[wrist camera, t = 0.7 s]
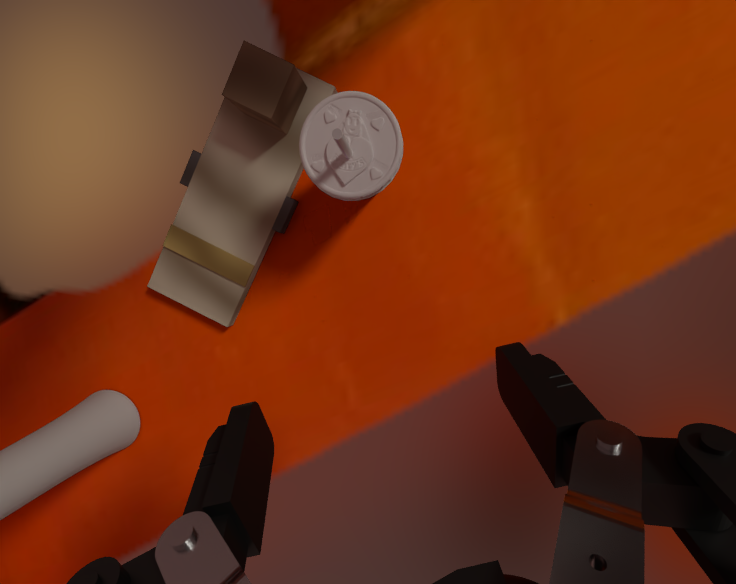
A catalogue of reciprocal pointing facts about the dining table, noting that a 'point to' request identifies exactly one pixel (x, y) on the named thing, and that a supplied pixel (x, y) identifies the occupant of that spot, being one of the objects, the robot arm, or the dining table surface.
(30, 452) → the cosmetic bottle
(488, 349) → the dining table surface
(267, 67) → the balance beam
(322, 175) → the white drink cup
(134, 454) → the dining table surface
